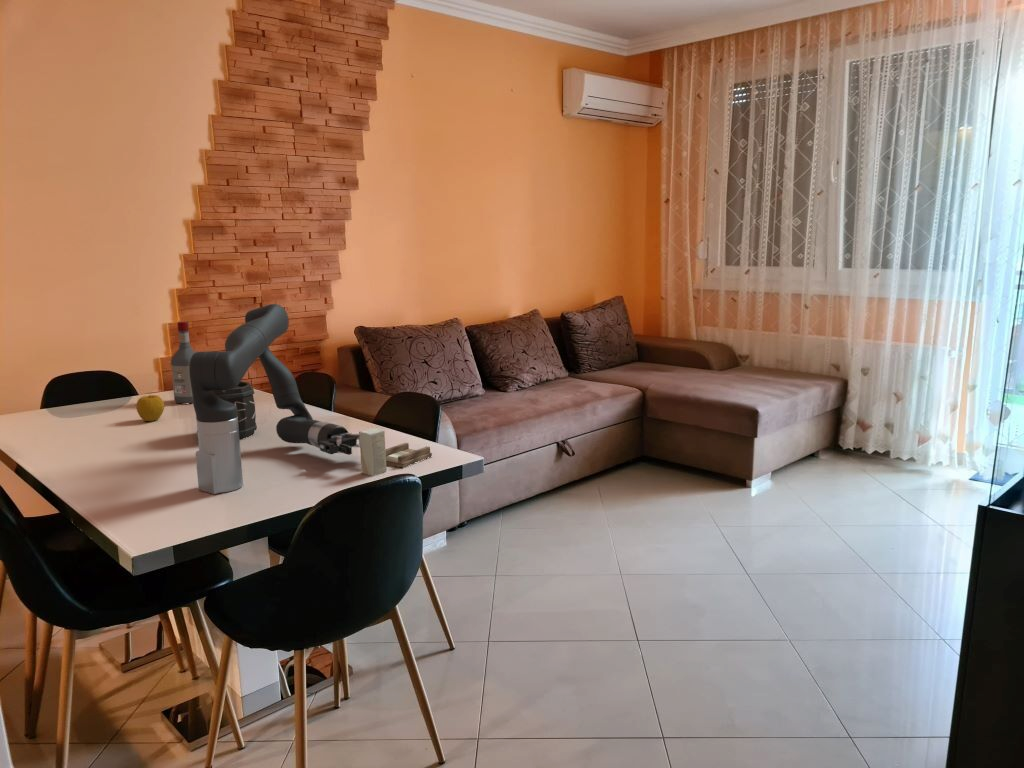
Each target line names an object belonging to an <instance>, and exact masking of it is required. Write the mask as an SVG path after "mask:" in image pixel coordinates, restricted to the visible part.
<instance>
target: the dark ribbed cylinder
mask: <svg viewBox="0 0 1024 768" xmlns="http://www.w3.org/2000/svg"><path fill="white" fill-rule="evenodd" d="M213 392H214V394H215V395H216V396H217V397H219V398H220V399H222V400H225V401H227V402H230V403H233V404H234V405H236V407H237V412H238V426H239V439H240V440H244V439H243V438H245V439H247V438H249V436H250V437H252V436H254V435H255V431H257V428H258V426H257V422H256V417H257V416H256V403H255V399H254V394H255V390H254V387H253V386H251V383H250V382H248V381H242V380H241V382H240V383H239V384H238V385H237V387H235V388H234V389H231V390H213ZM196 434H198V431H196ZM253 434H254V435H253ZM251 435H252V436H251ZM246 437H247V438H246Z"/></svg>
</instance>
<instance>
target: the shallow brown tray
mask: <svg viewBox="0 0 1024 768" xmlns="http://www.w3.org/2000/svg"><path fill="white" fill-rule="evenodd" d="M409 446H410V445H409V442H403V443H401V444H397V445H395V446H392V447H389V448H385V450H386V466H390V465H391V467H395V466H397V467H396V468H400V467H405V466H407V467H409V466H408V465H410V464H413V463H415V462H418V461H420V462H422V461H421V460H423V459H426V458H428V457H431V456H432V457H433V453H432V452H431V447H430V446H424V447H421V448H419V449H412V448H410V447H409ZM432 457H431V458H432ZM428 459H429V458H428ZM426 460H427V459H426ZM423 461H424V460H423ZM418 463H419V462H418ZM415 464H416V463H415ZM413 465H414V464H413ZM410 466H411V465H410ZM405 468H406V467H405Z"/></svg>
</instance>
